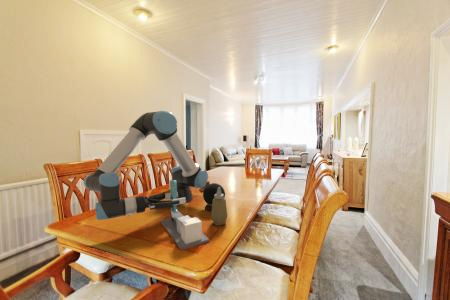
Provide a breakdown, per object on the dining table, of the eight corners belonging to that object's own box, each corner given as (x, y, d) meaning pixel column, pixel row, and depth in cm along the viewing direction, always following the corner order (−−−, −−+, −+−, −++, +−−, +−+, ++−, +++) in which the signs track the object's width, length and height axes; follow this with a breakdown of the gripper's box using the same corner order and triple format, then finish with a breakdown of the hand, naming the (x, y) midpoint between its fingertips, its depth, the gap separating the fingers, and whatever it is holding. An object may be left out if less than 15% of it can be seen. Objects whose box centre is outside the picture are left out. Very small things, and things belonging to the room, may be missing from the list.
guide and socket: (161, 222, 105) (160, 205, 104) (183, 217, 111) (183, 201, 110) (181, 250, 79) (180, 228, 78) (209, 241, 85) (208, 221, 85)
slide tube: (170, 218, 106) (169, 180, 104) (176, 217, 107) (175, 179, 106) (180, 230, 92) (179, 187, 91) (187, 228, 94) (186, 186, 93)
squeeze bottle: (221, 228, 97) (221, 190, 96) (208, 224, 102) (207, 188, 100) (230, 221, 104) (230, 186, 103) (217, 218, 109) (216, 184, 107)
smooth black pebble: (222, 203, 132) (222, 180, 131) (227, 211, 119) (227, 185, 118) (201, 205, 129) (201, 181, 128) (204, 213, 116) (204, 187, 115)
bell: (207, 192, 158) (206, 183, 157) (196, 190, 166) (196, 181, 165) (217, 189, 167) (217, 180, 166) (206, 187, 174) (206, 178, 174)
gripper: (132, 205, 105) (174, 198, 117) (139, 222, 85) (190, 211, 97) (131, 191, 105) (174, 185, 116) (139, 204, 85) (189, 195, 96)
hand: (181, 197), depth 106 cm, fingers open, 11 cm apart
